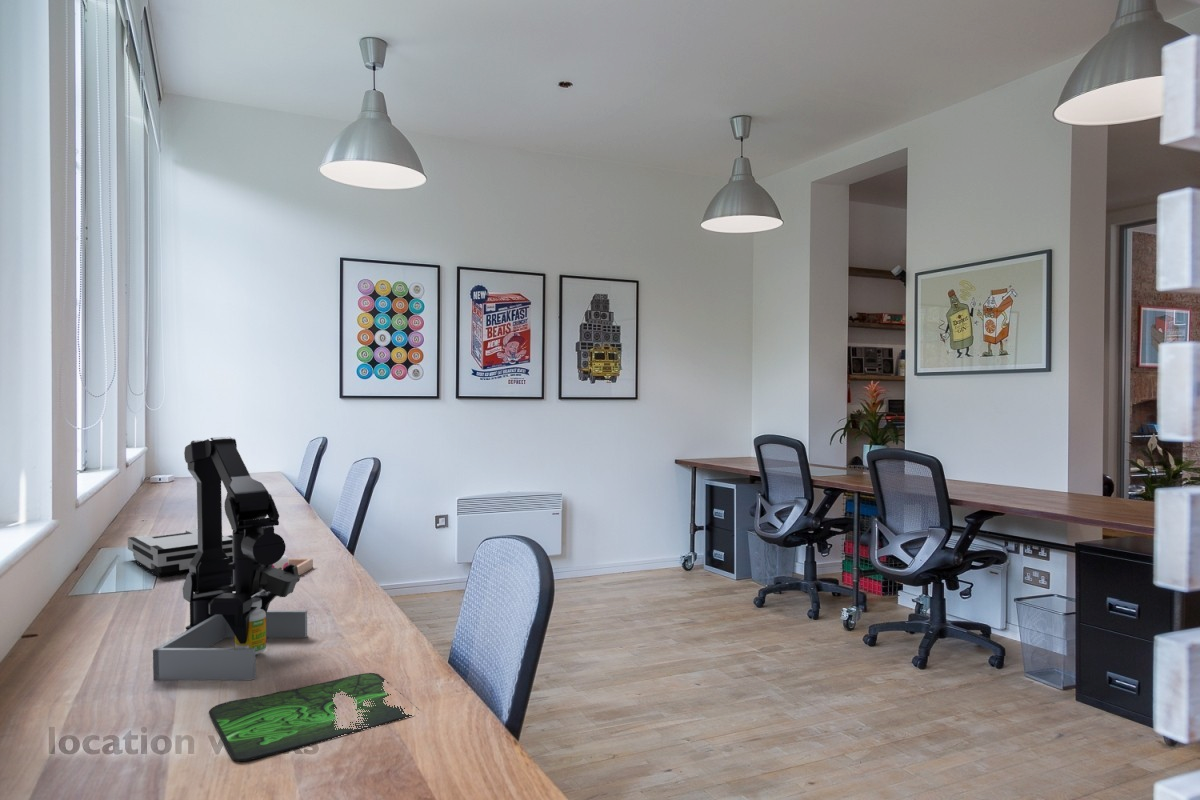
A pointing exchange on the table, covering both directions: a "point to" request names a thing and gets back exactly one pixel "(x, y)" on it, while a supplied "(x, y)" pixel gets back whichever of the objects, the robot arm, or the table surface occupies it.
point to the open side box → (219, 649)
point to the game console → (170, 551)
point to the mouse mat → (298, 716)
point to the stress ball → (281, 562)
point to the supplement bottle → (255, 629)
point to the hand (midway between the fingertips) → (250, 638)
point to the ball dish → (302, 564)
